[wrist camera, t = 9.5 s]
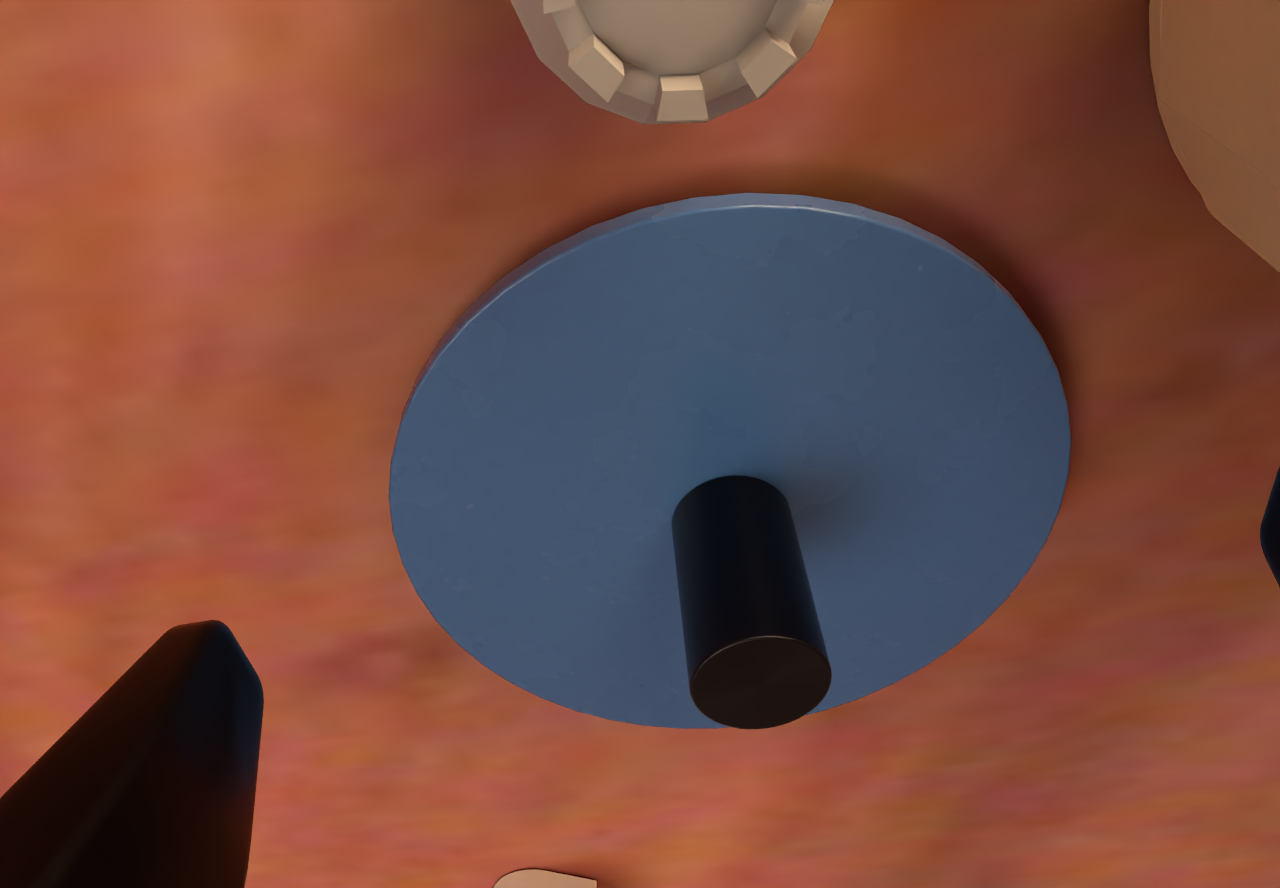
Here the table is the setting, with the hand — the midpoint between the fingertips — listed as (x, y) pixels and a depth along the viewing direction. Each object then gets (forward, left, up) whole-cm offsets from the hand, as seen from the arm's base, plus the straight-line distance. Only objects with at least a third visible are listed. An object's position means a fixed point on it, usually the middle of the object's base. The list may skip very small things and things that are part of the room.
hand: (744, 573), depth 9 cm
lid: (-8, -3, -11) cm, 14 cm away
